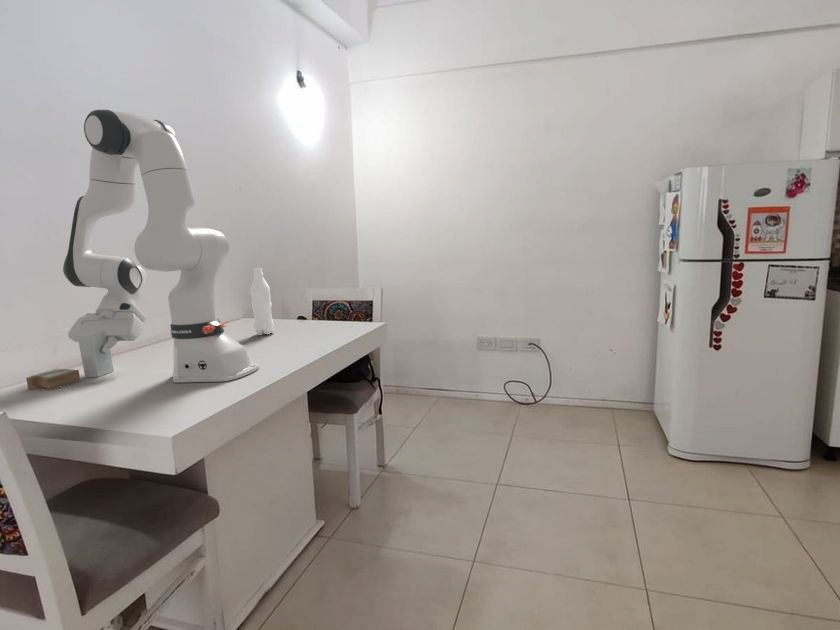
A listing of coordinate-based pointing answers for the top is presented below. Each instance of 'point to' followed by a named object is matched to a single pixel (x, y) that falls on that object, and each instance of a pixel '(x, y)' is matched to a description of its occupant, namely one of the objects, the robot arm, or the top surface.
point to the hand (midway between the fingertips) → (93, 352)
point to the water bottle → (261, 304)
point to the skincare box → (94, 354)
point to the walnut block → (53, 379)
